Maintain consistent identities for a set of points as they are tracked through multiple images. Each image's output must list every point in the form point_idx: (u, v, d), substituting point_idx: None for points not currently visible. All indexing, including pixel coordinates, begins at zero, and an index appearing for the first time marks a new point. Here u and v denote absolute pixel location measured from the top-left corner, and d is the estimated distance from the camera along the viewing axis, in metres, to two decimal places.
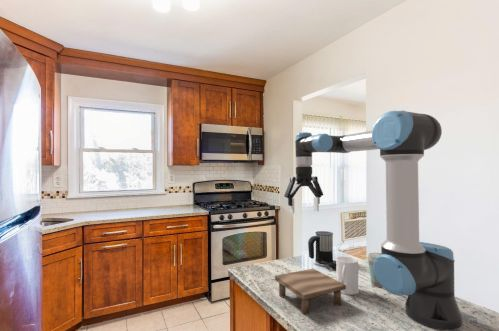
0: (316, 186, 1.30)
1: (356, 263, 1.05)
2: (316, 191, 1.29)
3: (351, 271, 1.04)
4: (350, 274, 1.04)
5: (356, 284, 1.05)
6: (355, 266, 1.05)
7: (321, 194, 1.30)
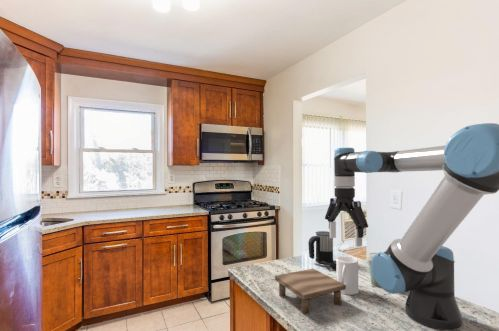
0: None
1: (356, 263, 1.05)
2: (354, 220, 1.01)
3: (351, 271, 1.04)
4: (350, 274, 1.04)
5: (356, 284, 1.05)
6: (355, 266, 1.05)
7: (361, 226, 0.99)
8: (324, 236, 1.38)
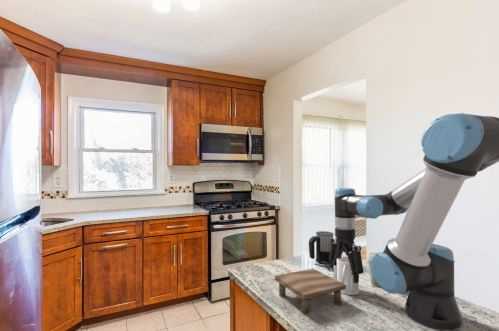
0: None
1: None
2: (351, 265, 1.02)
3: None
4: (350, 274, 1.04)
5: None
6: None
7: (356, 271, 1.00)
8: (324, 236, 1.38)
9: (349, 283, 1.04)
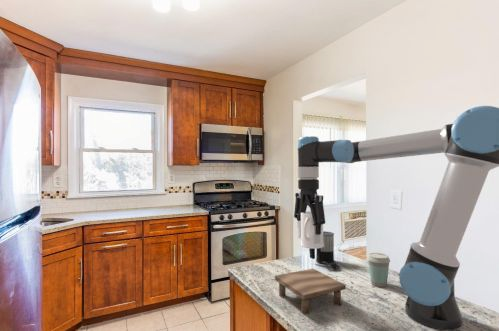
0: None
1: None
2: (313, 216, 0.97)
3: None
4: None
5: (320, 238, 0.98)
6: None
7: (317, 222, 0.94)
8: (325, 236, 1.38)
9: (312, 236, 0.98)
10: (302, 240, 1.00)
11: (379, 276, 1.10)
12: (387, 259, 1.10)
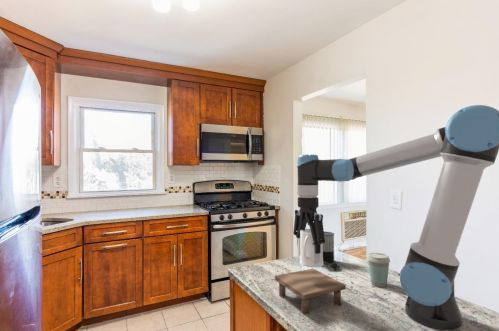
0: None
1: None
2: (313, 235, 0.96)
3: None
4: None
5: (320, 256, 0.98)
6: None
7: (317, 241, 0.94)
8: (325, 236, 1.38)
9: (311, 255, 0.97)
10: (301, 258, 1.00)
11: (379, 276, 1.10)
12: (387, 259, 1.10)
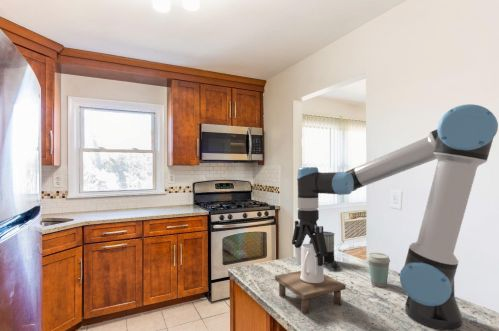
0: None
1: None
2: (315, 247, 0.95)
3: None
4: (314, 261, 0.97)
5: None
6: None
7: (320, 254, 0.93)
8: (325, 236, 1.38)
9: (312, 271, 0.97)
10: (302, 274, 1.00)
11: (379, 276, 1.10)
12: (387, 259, 1.10)
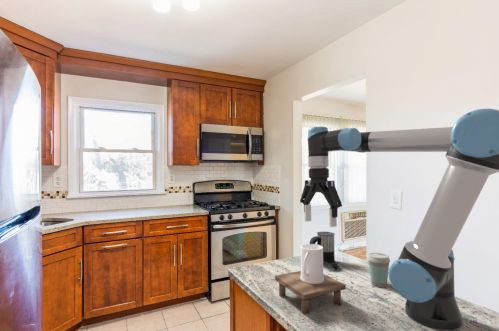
0: None
1: (320, 250, 0.98)
2: (328, 200, 0.98)
3: (314, 258, 0.97)
4: (313, 262, 0.97)
5: (320, 273, 0.98)
6: (319, 253, 0.98)
7: (334, 205, 0.96)
8: (325, 236, 1.38)
9: (312, 271, 0.97)
10: (302, 274, 1.00)
11: (379, 276, 1.10)
12: (387, 259, 1.10)
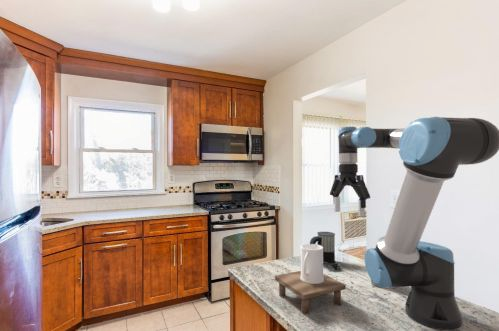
0: None
1: (320, 250, 0.98)
2: (357, 192, 1.10)
3: (314, 258, 0.97)
4: (313, 262, 0.97)
5: (320, 273, 0.98)
6: (319, 253, 0.98)
7: (363, 197, 1.07)
8: (326, 236, 1.38)
9: (312, 271, 0.97)
10: (302, 274, 1.00)
11: None
12: None
